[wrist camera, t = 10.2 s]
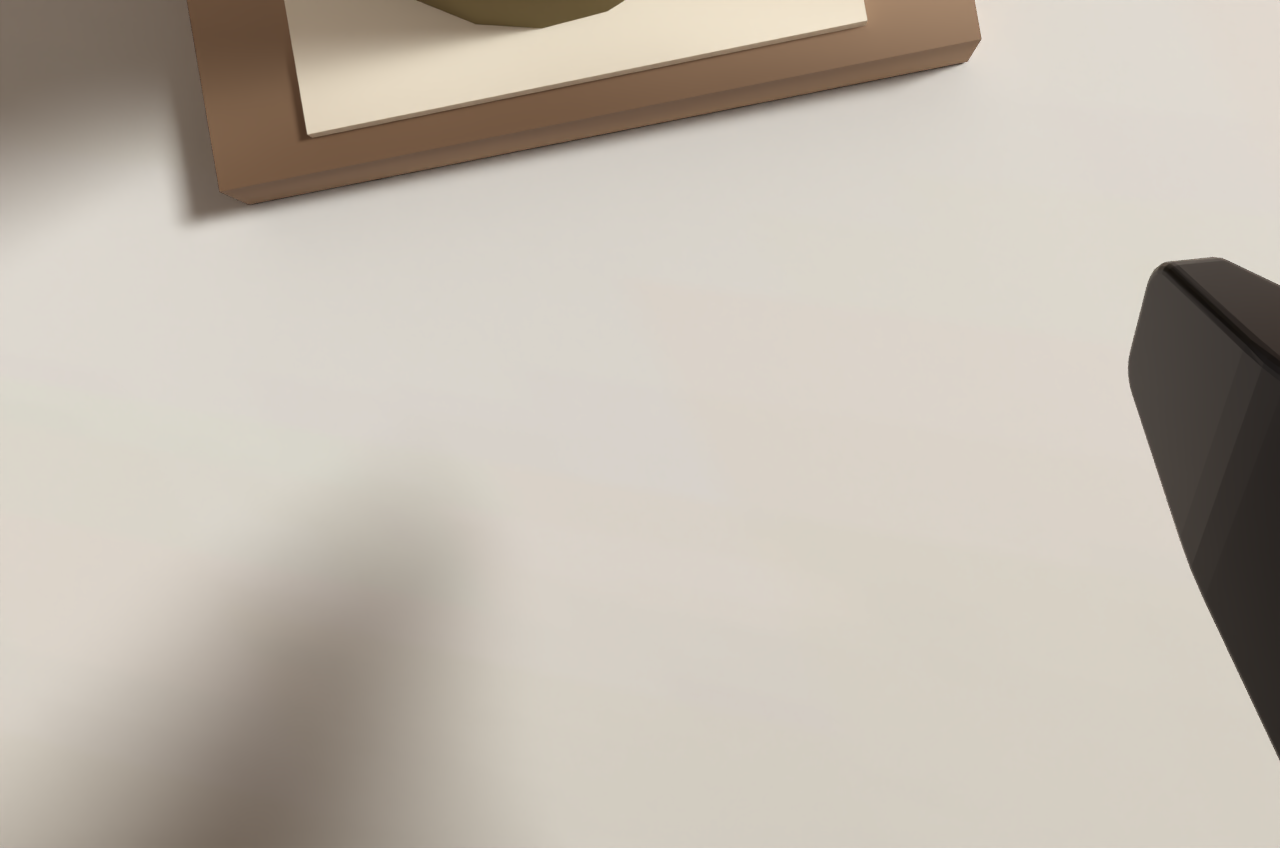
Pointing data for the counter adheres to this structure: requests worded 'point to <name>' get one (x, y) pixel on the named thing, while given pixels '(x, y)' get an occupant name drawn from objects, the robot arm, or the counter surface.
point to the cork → (522, 11)
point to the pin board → (518, 76)
